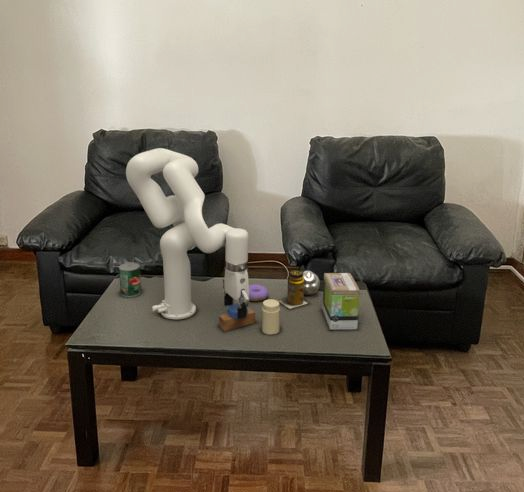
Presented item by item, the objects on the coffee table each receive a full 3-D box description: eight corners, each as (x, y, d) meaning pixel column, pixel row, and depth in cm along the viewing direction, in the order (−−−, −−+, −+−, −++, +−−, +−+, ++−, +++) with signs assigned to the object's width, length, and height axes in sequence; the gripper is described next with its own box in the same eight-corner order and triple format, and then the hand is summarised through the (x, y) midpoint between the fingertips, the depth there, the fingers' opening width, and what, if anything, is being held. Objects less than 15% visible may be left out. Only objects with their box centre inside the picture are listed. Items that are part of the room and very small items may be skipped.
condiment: (308, 303, 206) (309, 273, 203) (289, 309, 201) (290, 278, 198) (296, 296, 212) (297, 267, 209) (278, 301, 207) (278, 272, 204)
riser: (224, 331, 185) (224, 320, 184) (219, 326, 189) (219, 315, 188) (255, 322, 191) (255, 312, 190) (249, 317, 195) (249, 307, 194)
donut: (237, 296, 210) (238, 284, 210) (253, 293, 217) (254, 281, 217) (256, 304, 203) (258, 292, 203) (272, 301, 210) (274, 289, 210)
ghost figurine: (292, 296, 211) (292, 272, 209) (302, 287, 219) (303, 263, 217) (313, 301, 207) (314, 277, 205) (323, 292, 215) (324, 268, 213)
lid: (246, 308, 193) (245, 302, 192) (249, 317, 186) (249, 311, 186) (226, 310, 192) (226, 304, 191) (229, 319, 185) (229, 313, 185)
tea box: (358, 329, 187) (360, 289, 184) (329, 330, 186) (330, 290, 183) (348, 309, 202) (350, 271, 198) (321, 309, 201) (322, 272, 197)
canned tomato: (139, 297, 210) (137, 270, 208) (118, 297, 210) (116, 270, 207) (142, 288, 218) (141, 262, 215) (122, 288, 218) (121, 262, 215)
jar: (267, 336, 182) (268, 308, 180) (258, 328, 187) (258, 301, 185) (282, 331, 185) (283, 304, 183) (273, 323, 190) (273, 297, 188)
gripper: (258, 272, 180) (256, 320, 184) (234, 254, 194) (232, 298, 198) (238, 277, 176) (237, 325, 180) (215, 257, 190) (214, 302, 194)
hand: (234, 311), depth 189 cm, fingers open, 9 cm apart
